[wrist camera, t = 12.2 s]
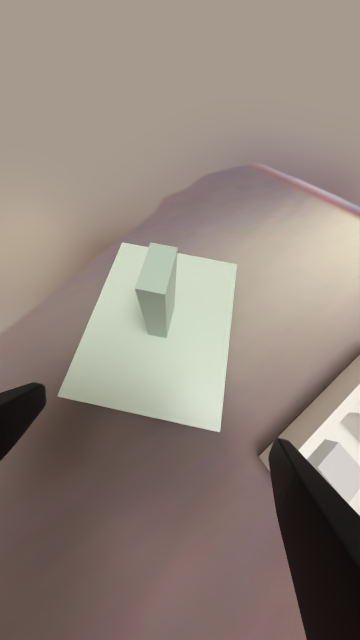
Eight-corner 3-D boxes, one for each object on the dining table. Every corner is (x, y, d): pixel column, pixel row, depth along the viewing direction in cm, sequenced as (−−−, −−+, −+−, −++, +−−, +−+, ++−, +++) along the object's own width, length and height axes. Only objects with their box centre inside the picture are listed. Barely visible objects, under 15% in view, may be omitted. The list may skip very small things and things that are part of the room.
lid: (66, 397, 20) (-38, 389, 10) (125, 252, 27) (100, 165, 17) (215, 429, 19) (264, 457, 9) (232, 273, 27) (269, 196, 17)
